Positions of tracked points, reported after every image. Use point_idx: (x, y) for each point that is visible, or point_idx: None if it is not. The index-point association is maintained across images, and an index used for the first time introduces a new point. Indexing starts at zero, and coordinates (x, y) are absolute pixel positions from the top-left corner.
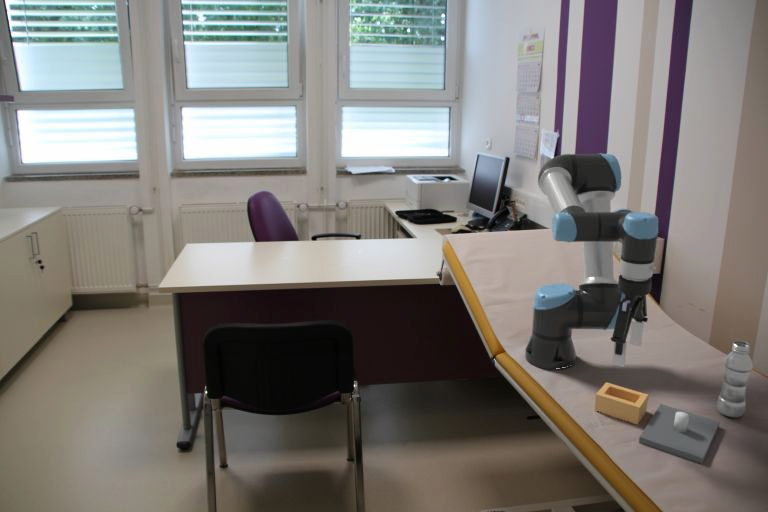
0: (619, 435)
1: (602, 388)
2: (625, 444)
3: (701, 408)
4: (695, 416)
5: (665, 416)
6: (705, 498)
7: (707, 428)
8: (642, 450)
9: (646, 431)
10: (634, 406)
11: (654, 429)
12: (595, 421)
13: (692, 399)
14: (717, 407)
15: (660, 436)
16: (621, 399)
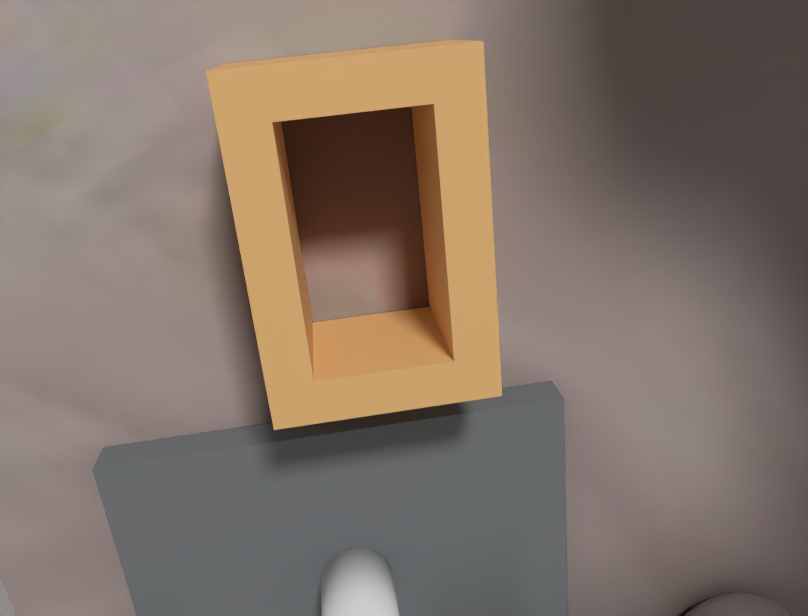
0: (75, 337)
1: (348, 69)
2: (14, 404)
3: (692, 526)
4: (544, 577)
5: (435, 475)
6: None
7: None
8: (43, 492)
9: (186, 470)
10: (268, 393)
11: (245, 491)
12: (97, 139)
13: (766, 461)
14: (711, 607)
15: (198, 542)
16: (288, 282)
